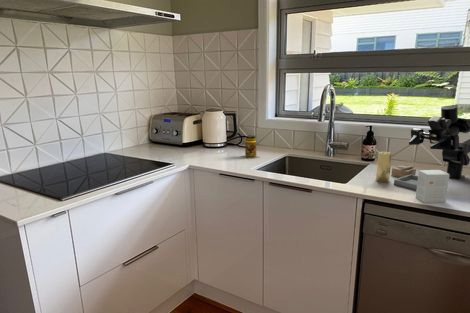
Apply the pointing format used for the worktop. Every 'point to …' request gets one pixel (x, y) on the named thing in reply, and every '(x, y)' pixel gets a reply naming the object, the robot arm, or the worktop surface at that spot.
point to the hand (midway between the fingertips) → (419, 145)
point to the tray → (407, 182)
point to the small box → (432, 186)
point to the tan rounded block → (403, 171)
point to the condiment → (250, 147)
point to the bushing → (383, 167)
